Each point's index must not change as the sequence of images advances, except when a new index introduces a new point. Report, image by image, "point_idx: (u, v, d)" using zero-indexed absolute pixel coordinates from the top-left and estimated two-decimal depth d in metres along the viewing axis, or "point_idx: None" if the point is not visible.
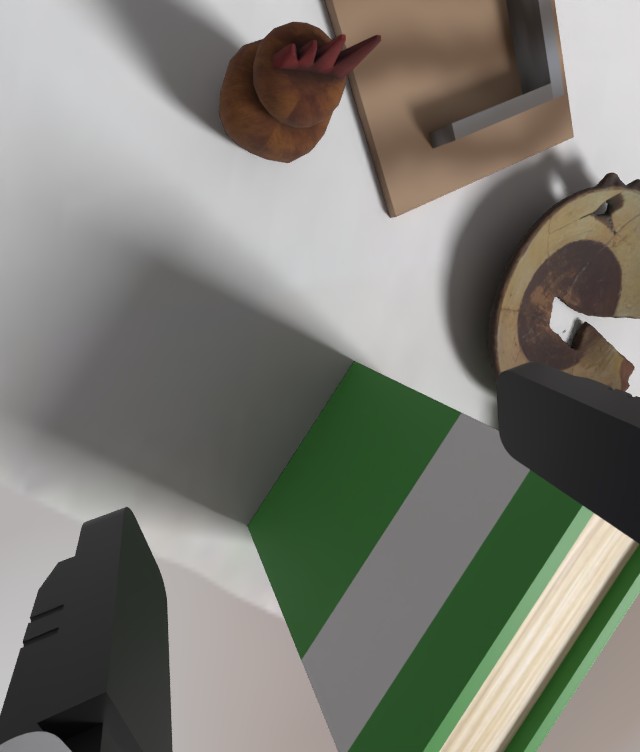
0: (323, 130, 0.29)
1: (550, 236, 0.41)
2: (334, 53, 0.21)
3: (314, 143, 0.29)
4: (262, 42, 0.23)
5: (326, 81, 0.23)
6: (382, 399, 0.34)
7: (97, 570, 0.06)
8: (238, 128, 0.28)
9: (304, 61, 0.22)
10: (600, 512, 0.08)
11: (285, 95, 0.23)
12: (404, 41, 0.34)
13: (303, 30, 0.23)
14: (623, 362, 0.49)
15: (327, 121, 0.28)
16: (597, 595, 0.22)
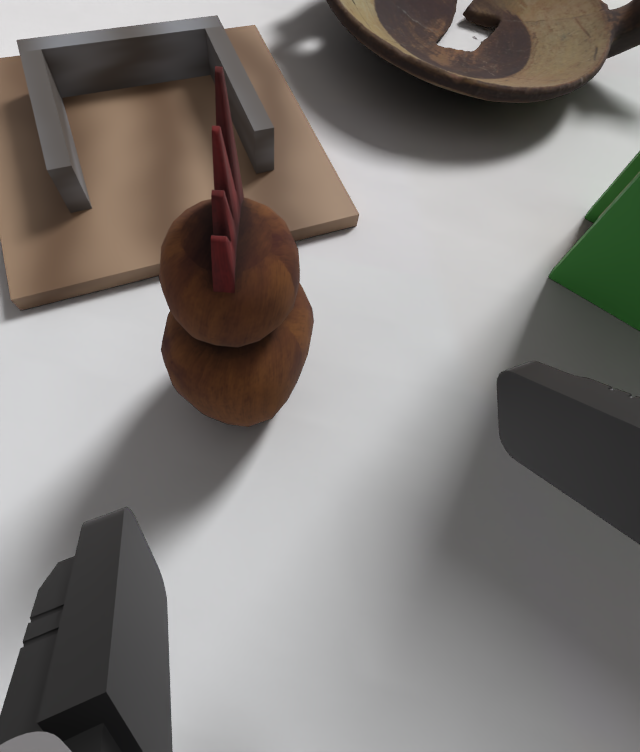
0: None
1: (377, 34, 0.32)
2: (228, 169, 0.12)
3: (299, 283, 0.19)
4: (187, 316, 0.14)
5: (250, 215, 0.14)
6: None
7: (97, 570, 0.06)
8: (279, 390, 0.18)
9: (231, 232, 0.13)
10: (600, 512, 0.08)
11: (272, 280, 0.14)
12: (150, 197, 0.27)
13: (175, 243, 0.14)
14: None
15: None
16: None
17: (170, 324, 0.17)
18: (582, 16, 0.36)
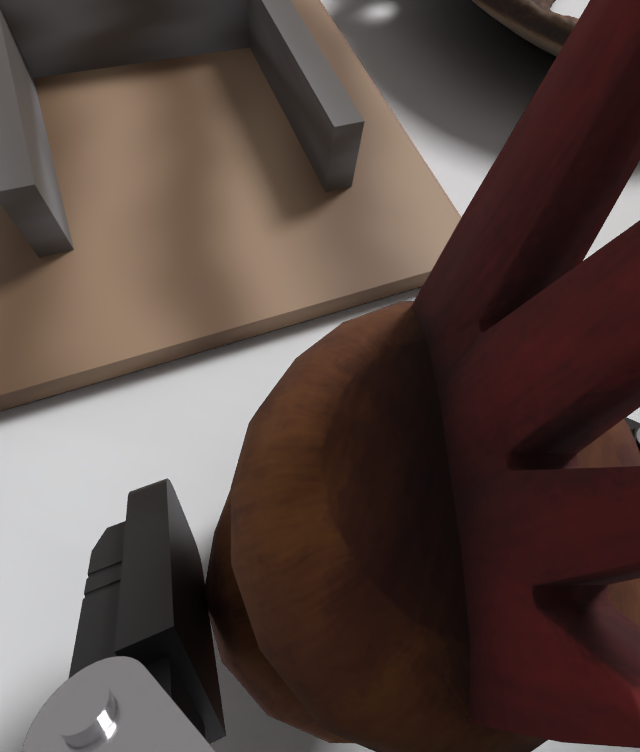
0: None
1: None
2: None
3: None
4: (336, 732, 0.04)
5: None
6: None
7: (149, 530, 0.07)
8: None
9: None
10: None
11: None
12: (166, 231, 0.17)
13: (308, 503, 0.04)
14: None
15: None
16: None
17: (233, 570, 0.07)
18: None
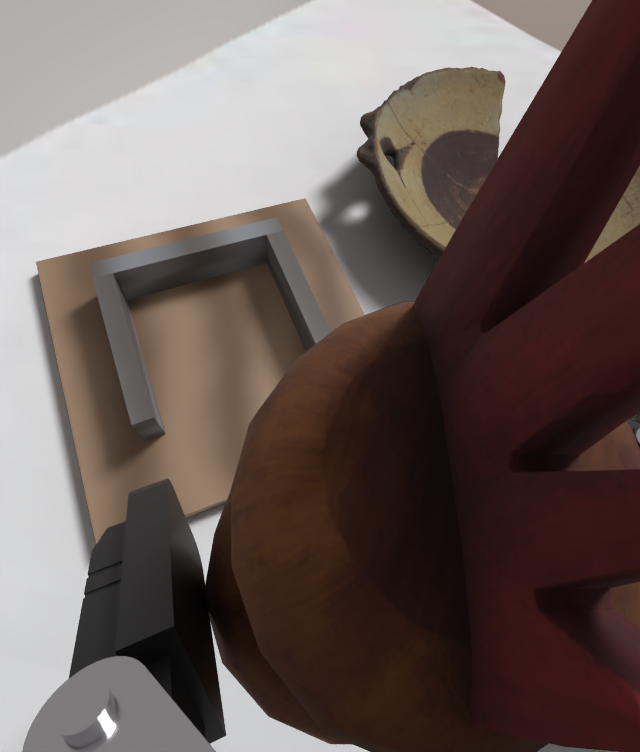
0: None
1: (429, 222, 0.33)
2: None
3: None
4: (337, 734, 0.04)
5: None
6: None
7: (149, 530, 0.07)
8: None
9: None
10: None
11: None
12: (220, 416, 0.28)
13: (309, 505, 0.04)
14: None
15: None
16: None
17: (233, 572, 0.07)
18: None
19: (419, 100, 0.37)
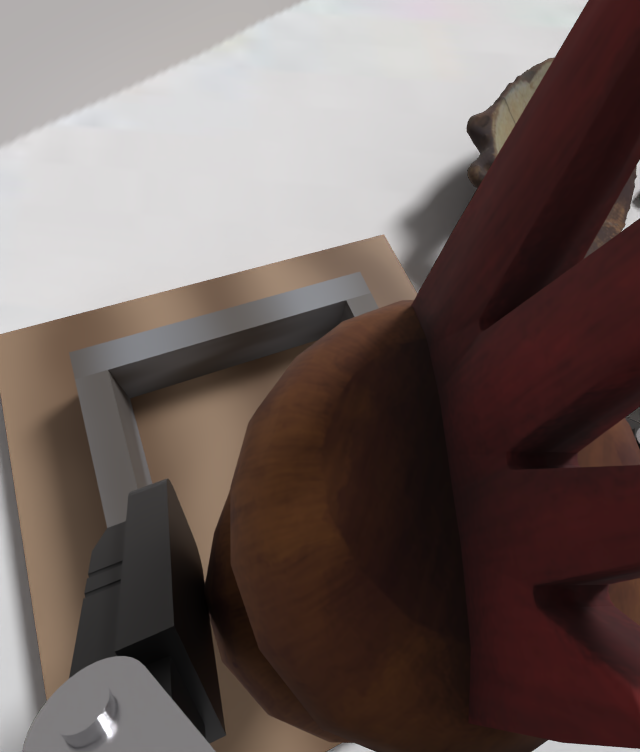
0: None
1: None
2: None
3: None
4: (336, 732, 0.04)
5: None
6: None
7: (149, 530, 0.07)
8: None
9: None
10: None
11: None
12: None
13: (308, 502, 0.04)
14: None
15: None
16: None
17: (232, 570, 0.07)
18: None
19: None
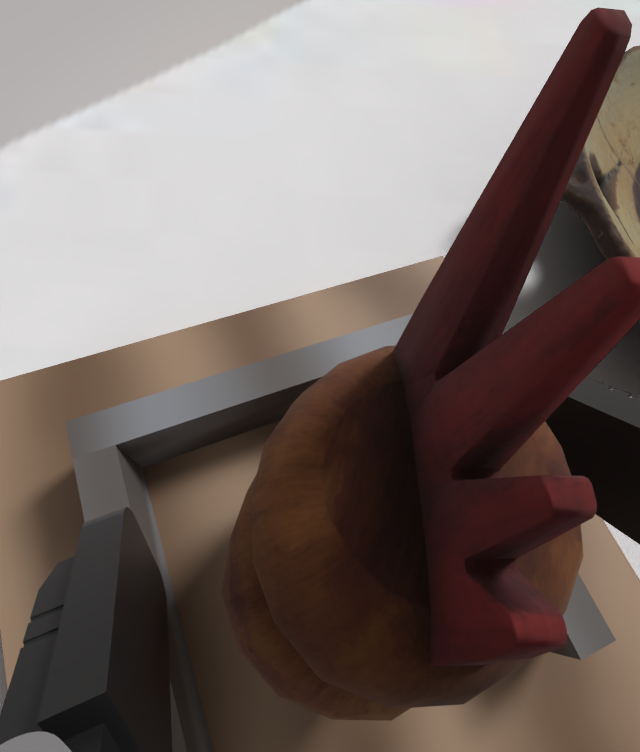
0: None
1: None
2: None
3: None
4: (335, 683, 0.05)
5: None
6: None
7: (97, 570, 0.06)
8: None
9: None
10: (600, 513, 0.08)
11: (565, 600, 0.05)
12: (340, 750, 0.13)
13: (312, 506, 0.05)
14: None
15: None
16: None
17: (248, 569, 0.09)
18: None
19: (624, 92, 0.23)
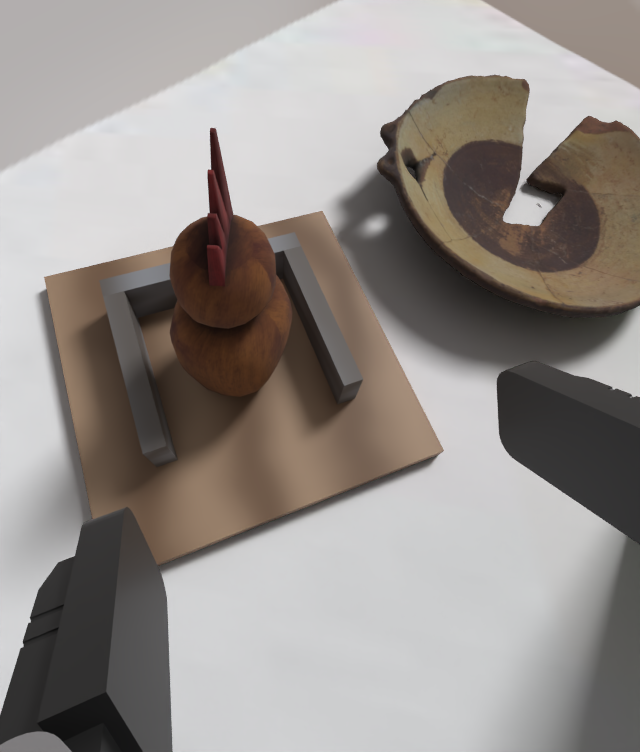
0: None
1: (452, 237, 0.32)
2: (220, 197, 0.17)
3: None
4: (190, 303, 0.19)
5: (237, 229, 0.19)
6: None
7: (97, 570, 0.06)
8: (263, 365, 0.23)
9: (222, 242, 0.18)
10: (600, 513, 0.08)
11: (253, 277, 0.19)
12: (234, 442, 0.27)
13: (182, 249, 0.19)
14: (583, 130, 0.38)
15: None
16: None
17: (177, 311, 0.22)
18: None
19: (441, 109, 0.36)
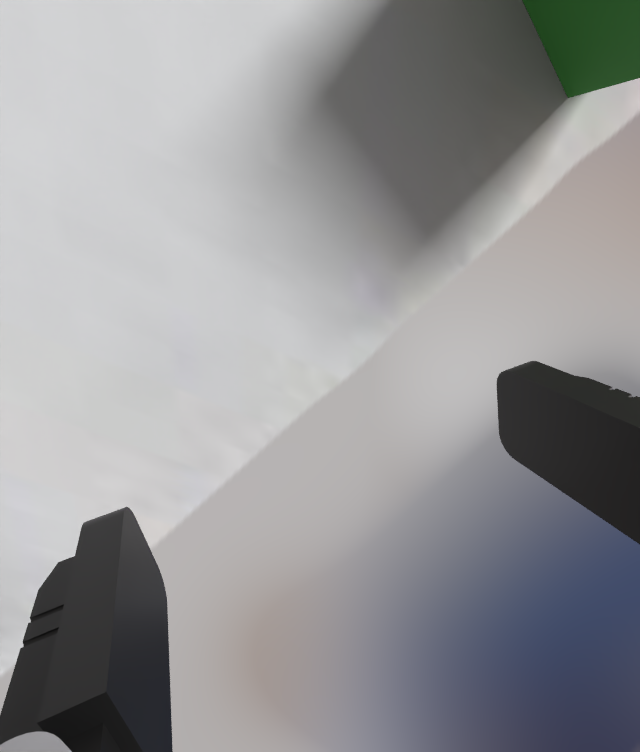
0: None
1: None
2: None
3: None
4: None
5: None
6: None
7: (97, 570, 0.06)
8: None
9: None
10: (600, 513, 0.08)
11: None
12: None
13: None
14: None
15: None
16: None
17: None
18: None
19: None
